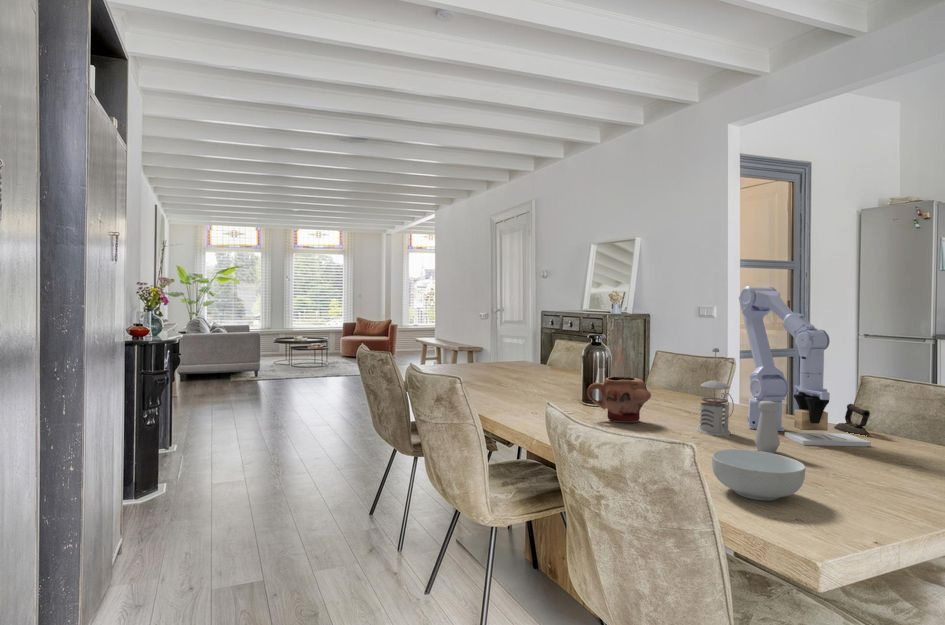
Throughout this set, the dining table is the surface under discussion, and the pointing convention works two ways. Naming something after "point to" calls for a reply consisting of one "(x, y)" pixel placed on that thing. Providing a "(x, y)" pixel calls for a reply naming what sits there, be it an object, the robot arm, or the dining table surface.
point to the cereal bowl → (758, 473)
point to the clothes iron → (849, 425)
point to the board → (827, 439)
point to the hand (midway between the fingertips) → (810, 421)
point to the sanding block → (804, 421)
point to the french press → (714, 409)
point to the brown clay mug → (621, 397)
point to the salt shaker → (767, 428)
